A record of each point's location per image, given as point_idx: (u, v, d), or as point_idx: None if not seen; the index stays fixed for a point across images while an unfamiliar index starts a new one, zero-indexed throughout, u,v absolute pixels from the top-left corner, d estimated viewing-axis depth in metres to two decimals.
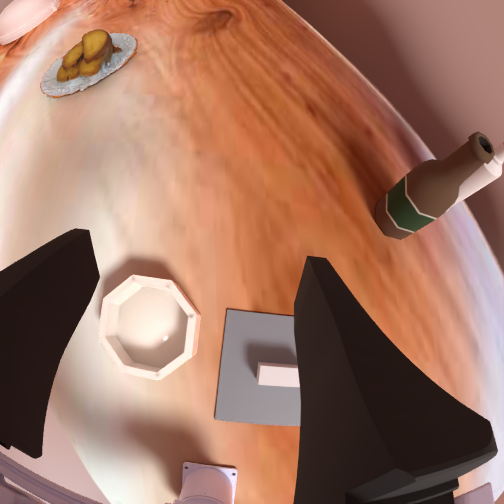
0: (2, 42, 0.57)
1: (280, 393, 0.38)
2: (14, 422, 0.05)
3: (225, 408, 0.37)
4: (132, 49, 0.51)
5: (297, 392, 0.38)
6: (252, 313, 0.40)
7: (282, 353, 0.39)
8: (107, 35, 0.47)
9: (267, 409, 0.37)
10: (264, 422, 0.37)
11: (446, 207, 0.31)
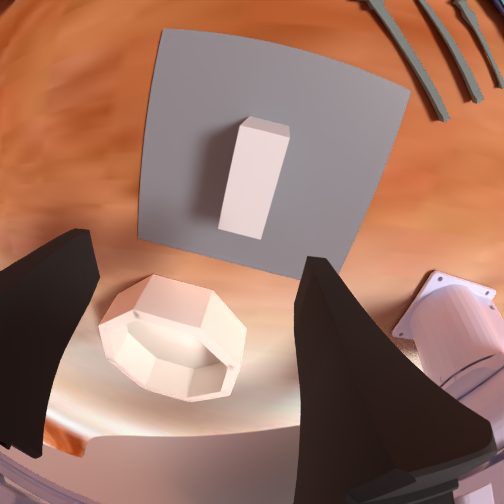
0: None
1: (306, 169, 0.18)
2: (14, 422, 0.05)
3: None
4: None
5: (312, 133, 0.17)
6: (141, 199, 0.21)
7: (217, 152, 0.18)
8: None
9: (336, 200, 0.19)
10: (362, 211, 0.19)
11: None
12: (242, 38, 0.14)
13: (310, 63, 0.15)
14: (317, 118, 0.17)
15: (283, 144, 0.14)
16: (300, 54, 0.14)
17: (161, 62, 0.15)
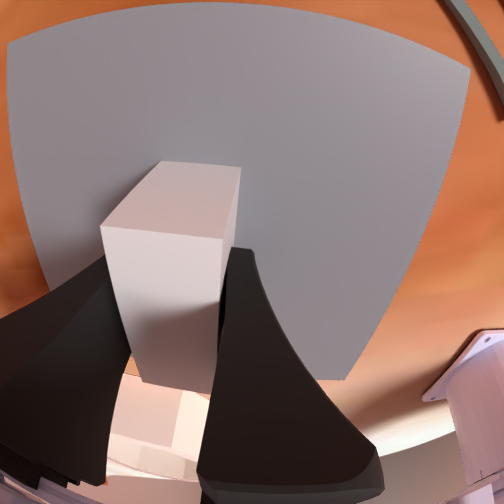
0: None
1: (288, 241, 0.10)
2: (83, 455, 0.05)
3: (316, 366, 0.14)
4: None
5: (290, 174, 0.09)
6: None
7: None
8: None
9: (346, 283, 0.11)
10: (390, 290, 0.11)
11: None
12: (120, 13, 0.06)
13: (266, 27, 0.06)
14: (297, 142, 0.08)
15: (210, 257, 0.06)
16: (240, 13, 0.06)
17: (12, 98, 0.07)
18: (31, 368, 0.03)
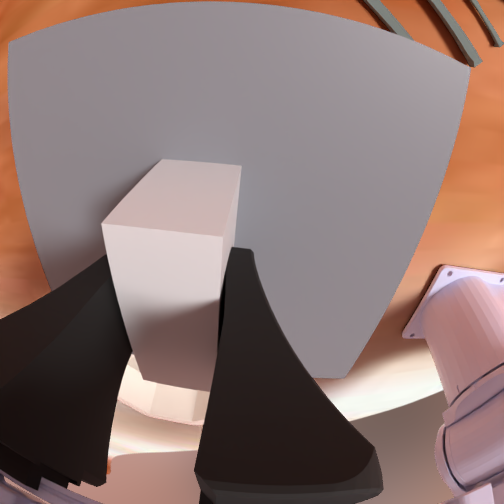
0: None
1: (288, 240, 0.10)
2: (84, 455, 0.05)
3: (317, 364, 0.14)
4: None
5: (290, 172, 0.09)
6: None
7: None
8: None
9: (346, 281, 0.11)
10: (390, 289, 0.11)
11: None
12: (121, 12, 0.06)
13: (266, 26, 0.06)
14: (297, 141, 0.08)
15: (211, 254, 0.06)
16: (240, 12, 0.06)
17: (13, 96, 0.07)
18: (32, 368, 0.03)
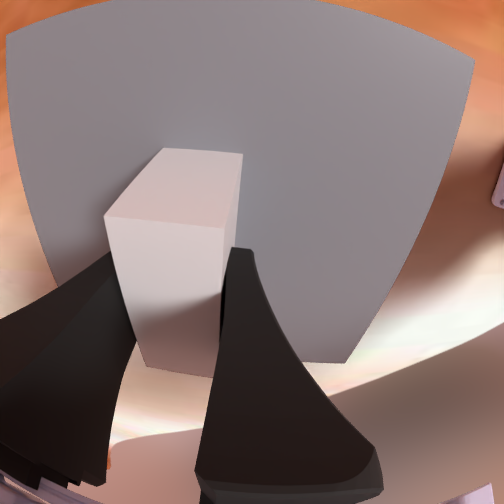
0: None
1: (290, 227, 0.10)
2: (84, 455, 0.05)
3: (317, 350, 0.15)
4: None
5: (291, 160, 0.09)
6: None
7: None
8: None
9: (346, 268, 0.11)
10: (390, 276, 0.11)
11: None
12: (120, 2, 0.05)
13: (267, 15, 0.06)
14: (299, 130, 0.08)
15: (213, 245, 0.06)
16: (241, 1, 0.06)
17: (13, 88, 0.07)
18: (32, 368, 0.03)
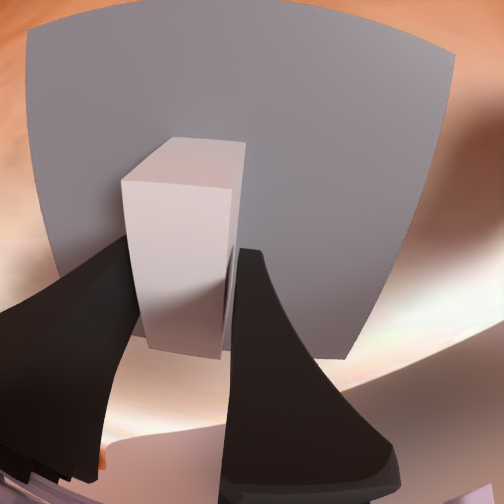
0: None
1: (289, 213, 0.11)
2: (75, 451, 0.05)
3: (317, 344, 0.15)
4: None
5: (290, 148, 0.09)
6: None
7: None
8: None
9: (344, 255, 0.12)
10: (387, 264, 0.12)
11: None
12: (137, 4, 0.06)
13: (268, 18, 0.07)
14: (296, 120, 0.09)
15: (220, 206, 0.06)
16: (245, 6, 0.07)
17: (31, 81, 0.08)
18: (21, 364, 0.03)
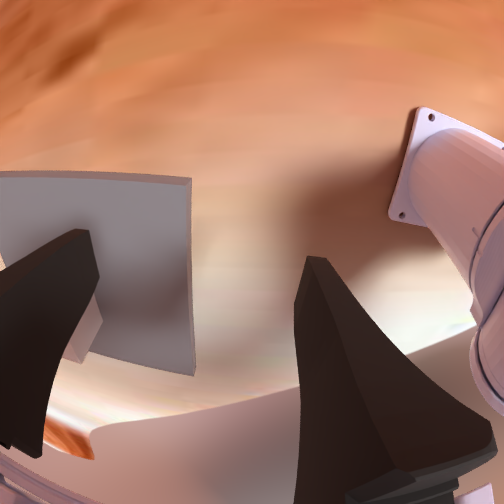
0: None
1: (114, 289, 0.17)
2: (14, 422, 0.05)
3: (168, 363, 0.21)
4: None
5: (102, 258, 0.16)
6: None
7: None
8: None
9: (154, 313, 0.18)
10: (184, 321, 0.18)
11: None
12: (20, 179, 0.13)
13: (72, 190, 0.13)
14: (100, 244, 0.15)
15: None
16: (61, 183, 0.13)
17: None
18: None
